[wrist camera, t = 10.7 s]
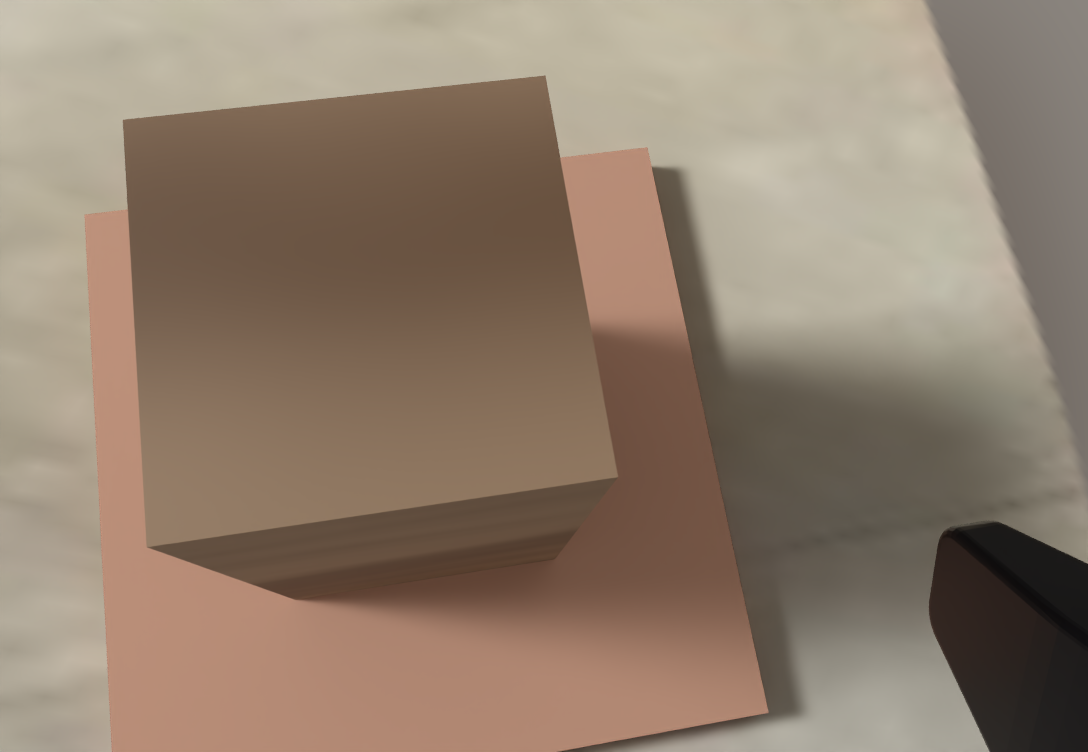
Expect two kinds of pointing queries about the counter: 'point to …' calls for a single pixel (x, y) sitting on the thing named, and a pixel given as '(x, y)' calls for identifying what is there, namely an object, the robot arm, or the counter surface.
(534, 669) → the terracotta mat
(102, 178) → the counter surface
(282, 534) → the walnut block
